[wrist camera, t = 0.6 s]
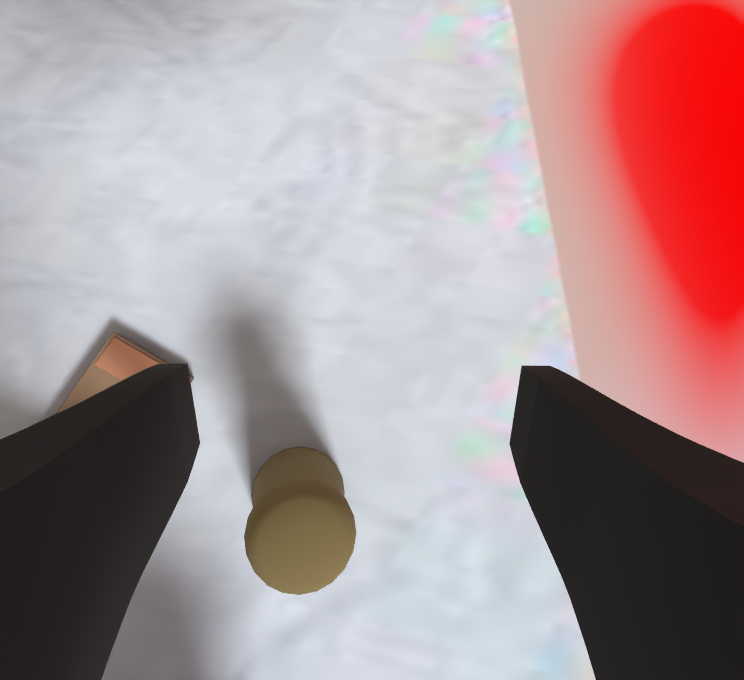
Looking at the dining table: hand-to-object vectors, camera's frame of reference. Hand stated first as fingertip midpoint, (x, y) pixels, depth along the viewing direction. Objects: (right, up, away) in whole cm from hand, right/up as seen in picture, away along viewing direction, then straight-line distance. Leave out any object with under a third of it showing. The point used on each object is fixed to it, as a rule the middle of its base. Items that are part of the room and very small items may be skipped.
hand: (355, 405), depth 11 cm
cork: (-4, -9, +22) cm, 24 cm away
